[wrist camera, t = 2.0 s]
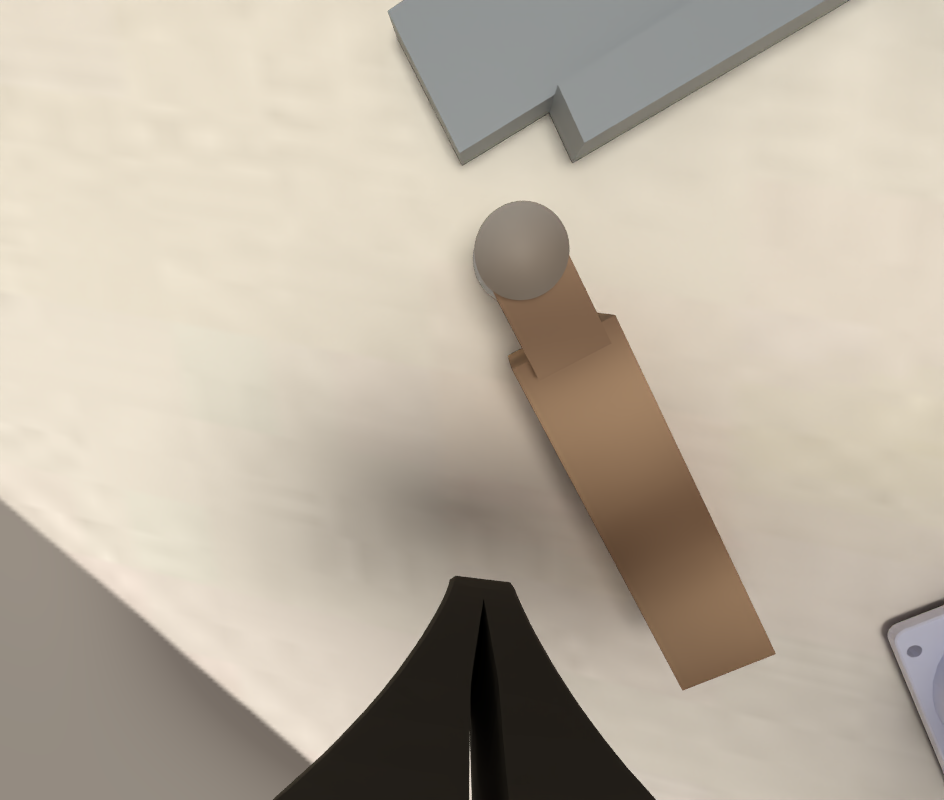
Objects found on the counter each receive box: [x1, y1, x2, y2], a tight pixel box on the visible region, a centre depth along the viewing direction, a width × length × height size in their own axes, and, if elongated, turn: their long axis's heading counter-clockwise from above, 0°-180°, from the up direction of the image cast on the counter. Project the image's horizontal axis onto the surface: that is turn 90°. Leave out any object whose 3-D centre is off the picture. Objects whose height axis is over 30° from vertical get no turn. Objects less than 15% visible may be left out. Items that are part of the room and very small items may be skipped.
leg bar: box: [474, 201, 776, 690], centre depth 13 cm, size 15×3×4 cm, turn 29°
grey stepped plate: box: [388, 0, 849, 300], centre depth 12 cm, size 9×17×2 cm, turn 119°
